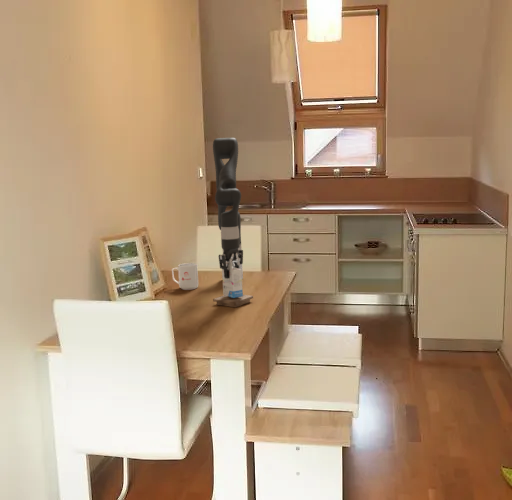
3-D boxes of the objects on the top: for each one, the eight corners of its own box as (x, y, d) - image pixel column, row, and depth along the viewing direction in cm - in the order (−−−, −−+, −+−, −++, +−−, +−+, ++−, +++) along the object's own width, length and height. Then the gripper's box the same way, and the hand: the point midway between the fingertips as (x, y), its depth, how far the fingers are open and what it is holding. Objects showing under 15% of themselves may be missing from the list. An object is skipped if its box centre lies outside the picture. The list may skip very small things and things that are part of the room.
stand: (213, 304, 283) (213, 299, 283) (230, 298, 293) (230, 293, 292) (236, 308, 276) (235, 302, 276) (253, 301, 286) (253, 295, 285)
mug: (199, 285, 321) (198, 262, 319) (197, 289, 312) (195, 266, 310) (174, 286, 321) (173, 263, 320) (171, 290, 313) (169, 267, 311)
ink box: (243, 296, 282) (241, 261, 279) (233, 298, 279) (231, 263, 276) (232, 292, 289) (231, 258, 286) (222, 294, 286) (220, 260, 283)
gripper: (226, 240, 272) (228, 281, 275) (247, 235, 283) (249, 274, 286) (212, 239, 276) (214, 279, 279) (233, 234, 287) (235, 272, 290)
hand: (232, 276), depth 282 cm, fingers closed on ink box, 6 cm apart
